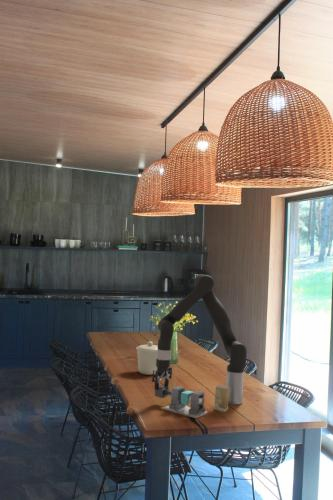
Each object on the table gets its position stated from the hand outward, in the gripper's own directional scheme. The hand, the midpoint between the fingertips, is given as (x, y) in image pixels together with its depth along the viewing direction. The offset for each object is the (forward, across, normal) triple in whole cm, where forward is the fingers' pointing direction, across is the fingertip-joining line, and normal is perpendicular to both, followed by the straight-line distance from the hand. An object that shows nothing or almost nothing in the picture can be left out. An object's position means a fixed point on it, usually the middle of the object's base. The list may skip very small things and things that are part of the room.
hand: (161, 388), depth 269 cm
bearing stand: (+8, 0, +16) cm, 18 cm away
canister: (+9, -50, -47) cm, 70 cm away
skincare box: (+8, -16, +28) cm, 33 cm away
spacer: (+4, 0, +17) cm, 17 cm away
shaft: (+4, 0, +11) cm, 12 cm away
